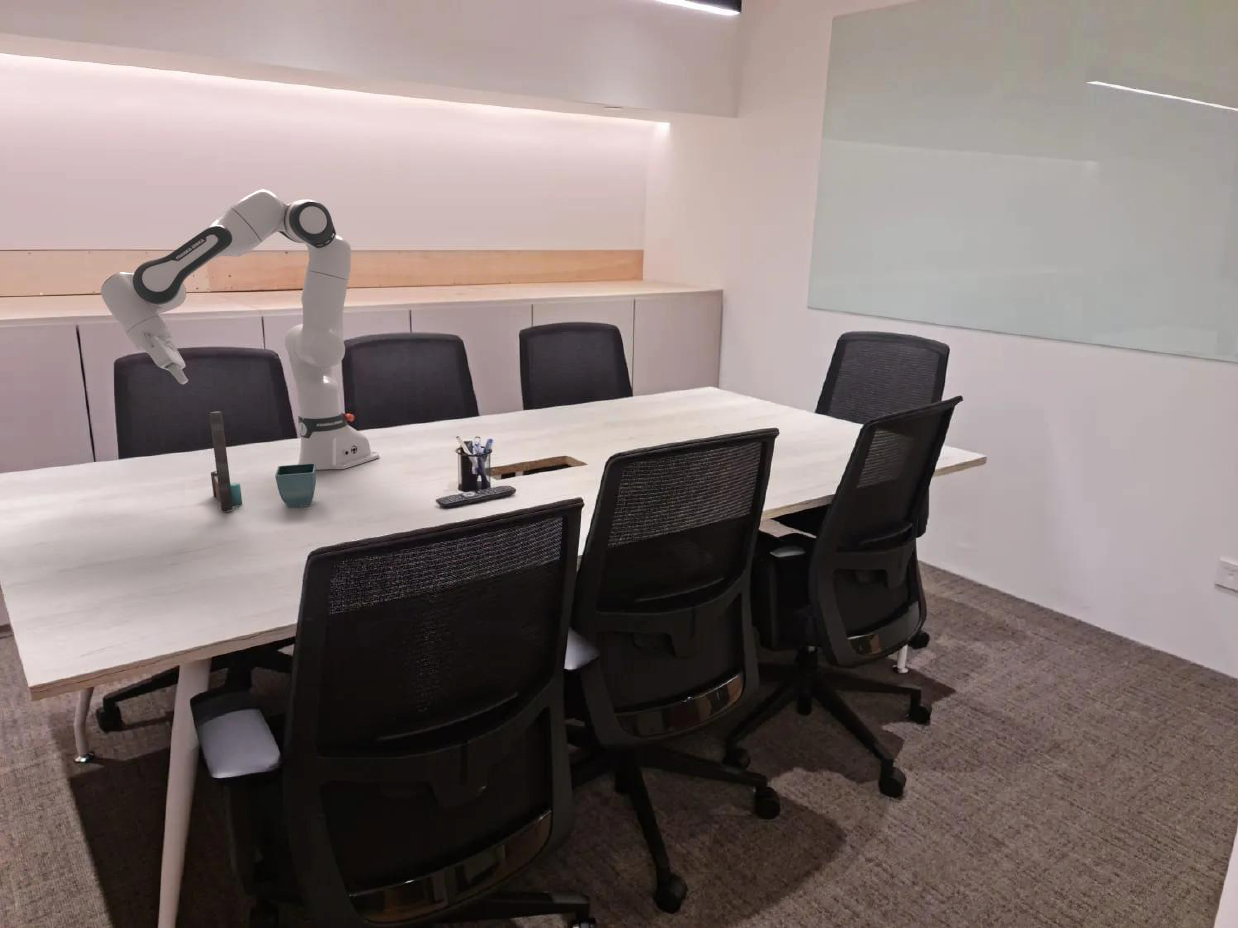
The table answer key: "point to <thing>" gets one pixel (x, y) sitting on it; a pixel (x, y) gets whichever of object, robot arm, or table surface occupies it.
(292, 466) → the flower pot
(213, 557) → the table surface
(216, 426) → the brown board with post
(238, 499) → the post
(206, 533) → the table surface
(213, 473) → the hinge post
